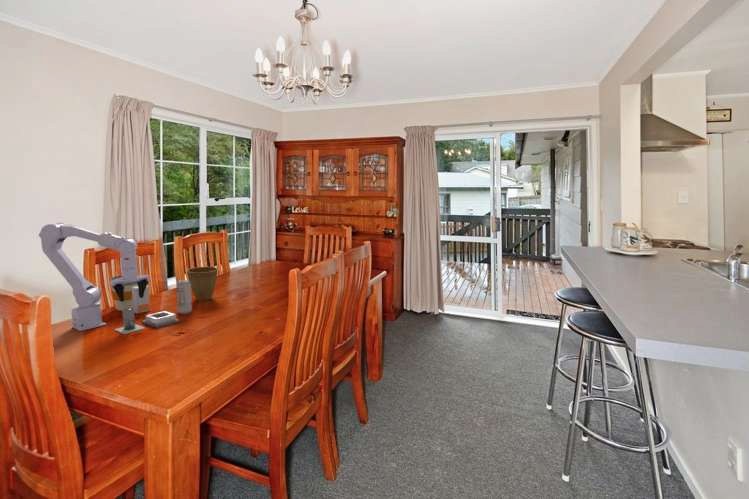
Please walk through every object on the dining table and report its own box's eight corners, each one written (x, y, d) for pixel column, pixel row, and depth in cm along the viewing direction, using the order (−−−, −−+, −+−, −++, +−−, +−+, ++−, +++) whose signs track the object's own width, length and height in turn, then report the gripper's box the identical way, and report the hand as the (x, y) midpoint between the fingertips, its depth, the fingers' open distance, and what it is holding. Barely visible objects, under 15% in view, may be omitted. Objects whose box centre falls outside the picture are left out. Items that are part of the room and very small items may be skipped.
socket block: (156, 328, 159) (156, 320, 158) (141, 322, 165) (141, 315, 165) (179, 321, 167) (179, 314, 167) (164, 316, 174) (164, 309, 173)
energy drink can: (194, 311, 182) (193, 280, 180) (182, 315, 176) (181, 283, 174) (187, 309, 185) (185, 279, 183) (175, 312, 179) (173, 281, 177)
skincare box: (136, 313, 177) (134, 288, 175) (132, 312, 179) (131, 287, 178) (150, 310, 182) (149, 286, 180) (146, 309, 184) (145, 284, 182)
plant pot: (188, 296, 207) (187, 267, 205) (218, 294, 214) (217, 266, 211) (187, 303, 194) (186, 272, 192) (219, 301, 200) (218, 271, 198)
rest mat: (124, 334, 151) (124, 333, 151) (114, 330, 155) (114, 329, 155) (145, 328, 158) (145, 327, 158) (135, 324, 162) (135, 323, 162)
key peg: (127, 330, 154) (126, 311, 153) (121, 328, 156) (120, 309, 155) (137, 327, 158) (136, 308, 156) (131, 326, 159) (130, 307, 158)
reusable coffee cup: (118, 313, 177) (115, 281, 175) (107, 308, 184) (105, 277, 182) (147, 307, 187) (145, 277, 185) (136, 302, 194) (134, 273, 192)
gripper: (114, 271, 153) (117, 304, 155) (152, 266, 165) (154, 297, 167) (106, 269, 157) (109, 301, 159) (143, 264, 169) (145, 294, 171)
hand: (131, 299), depth 163 cm, fingers open, 7 cm apart
